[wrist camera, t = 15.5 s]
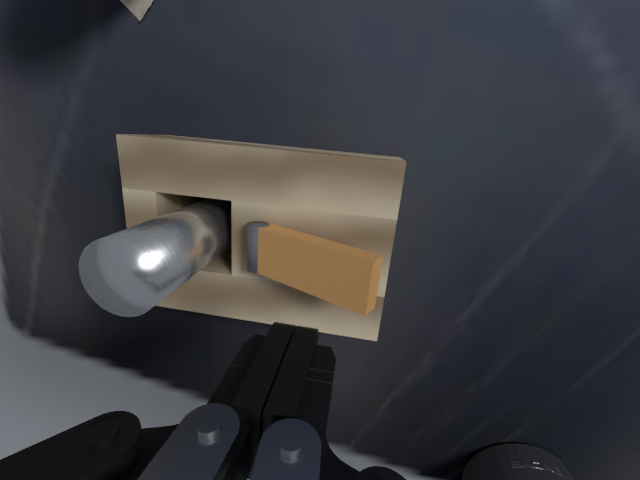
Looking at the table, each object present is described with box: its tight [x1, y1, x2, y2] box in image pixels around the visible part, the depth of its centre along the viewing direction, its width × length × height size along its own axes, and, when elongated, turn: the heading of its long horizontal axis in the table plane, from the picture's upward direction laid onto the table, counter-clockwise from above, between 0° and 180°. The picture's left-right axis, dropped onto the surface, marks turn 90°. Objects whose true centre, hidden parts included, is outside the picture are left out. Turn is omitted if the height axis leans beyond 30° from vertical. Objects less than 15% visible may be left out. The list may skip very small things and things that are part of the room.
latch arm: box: [246, 221, 383, 316], centre depth 18 cm, size 9×3×1 cm, turn 85°
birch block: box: [116, 134, 406, 341], centre depth 23 cm, size 12×18×5 cm, turn 85°
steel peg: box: [79, 198, 232, 317], centre depth 21 cm, size 4×4×12 cm
